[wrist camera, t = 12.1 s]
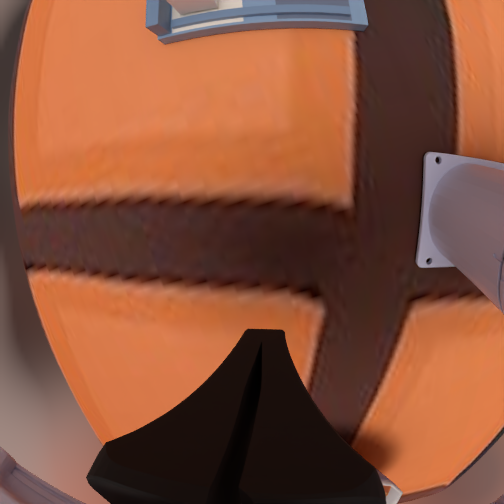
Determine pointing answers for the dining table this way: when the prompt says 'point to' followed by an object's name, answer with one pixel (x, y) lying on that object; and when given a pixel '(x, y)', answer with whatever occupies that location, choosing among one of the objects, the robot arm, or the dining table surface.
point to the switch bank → (253, 17)
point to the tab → (192, 5)
